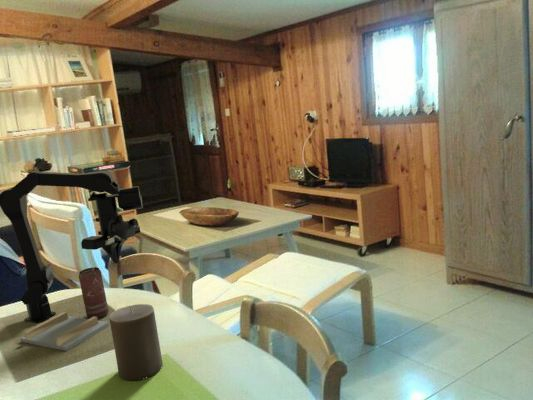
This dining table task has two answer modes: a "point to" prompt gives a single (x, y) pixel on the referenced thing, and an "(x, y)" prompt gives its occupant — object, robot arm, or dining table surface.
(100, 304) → the can
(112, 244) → the robot arm
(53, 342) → the tray
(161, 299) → the dining table surface
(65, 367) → the dining table surface
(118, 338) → the pillar candle
